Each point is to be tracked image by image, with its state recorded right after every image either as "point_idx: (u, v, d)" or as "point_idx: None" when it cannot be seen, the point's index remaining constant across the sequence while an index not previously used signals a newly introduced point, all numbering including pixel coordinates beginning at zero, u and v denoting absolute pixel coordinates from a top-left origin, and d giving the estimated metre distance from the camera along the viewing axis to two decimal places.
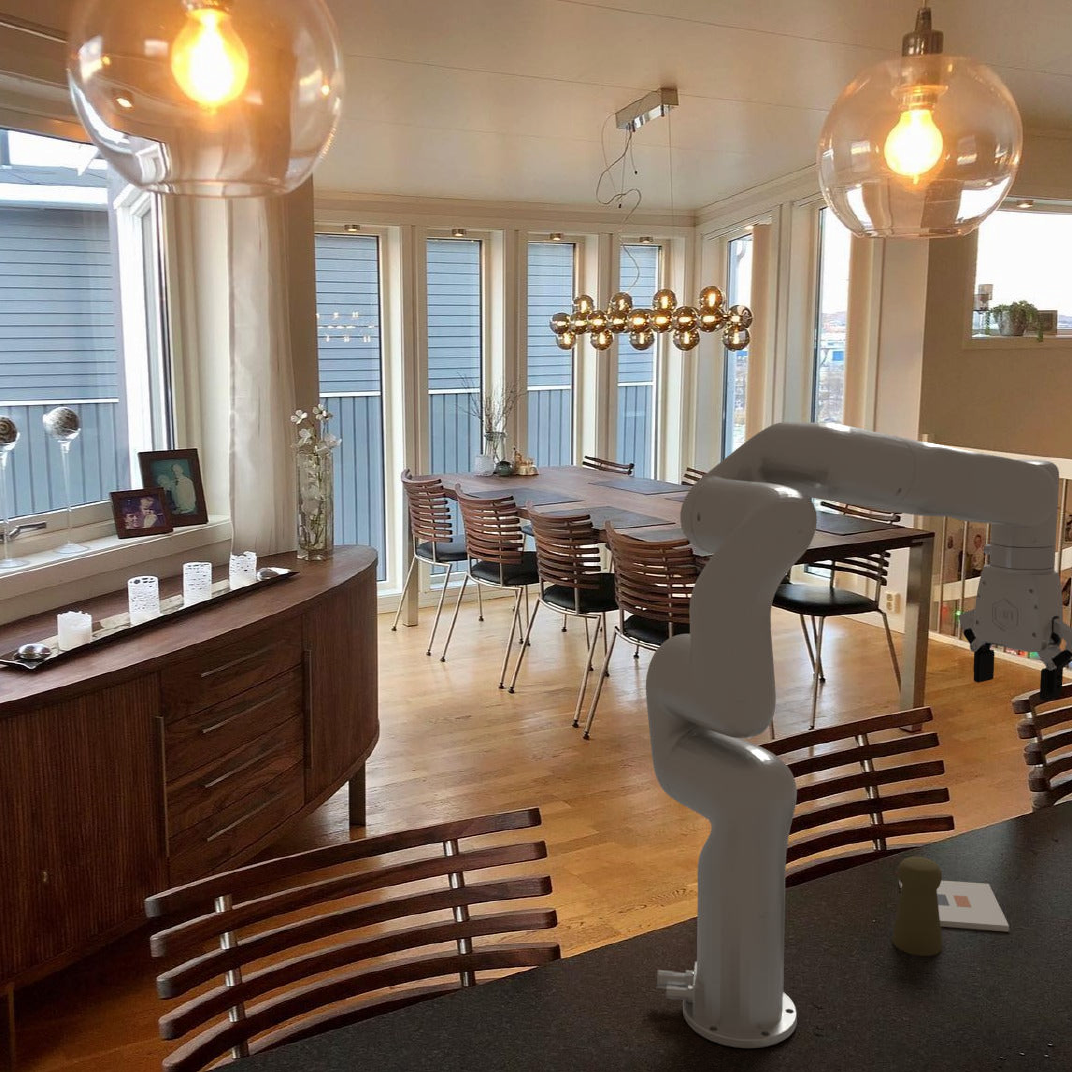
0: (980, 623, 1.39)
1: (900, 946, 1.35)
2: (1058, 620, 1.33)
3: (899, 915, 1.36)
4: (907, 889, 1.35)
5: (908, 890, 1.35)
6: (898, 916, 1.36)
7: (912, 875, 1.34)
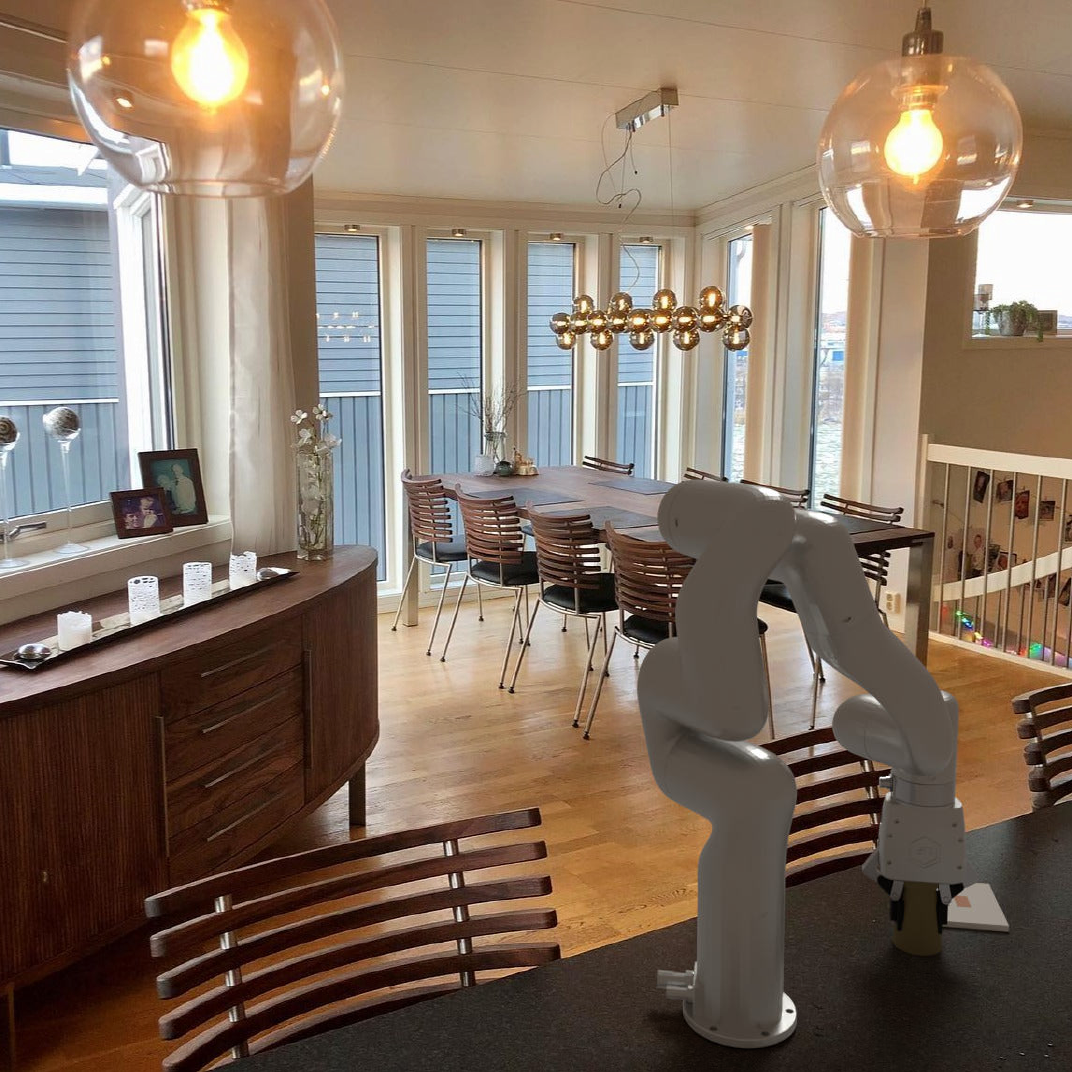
0: (893, 863, 1.33)
1: (900, 946, 1.35)
2: None
3: None
4: (907, 889, 1.35)
5: (908, 889, 1.35)
6: None
7: None
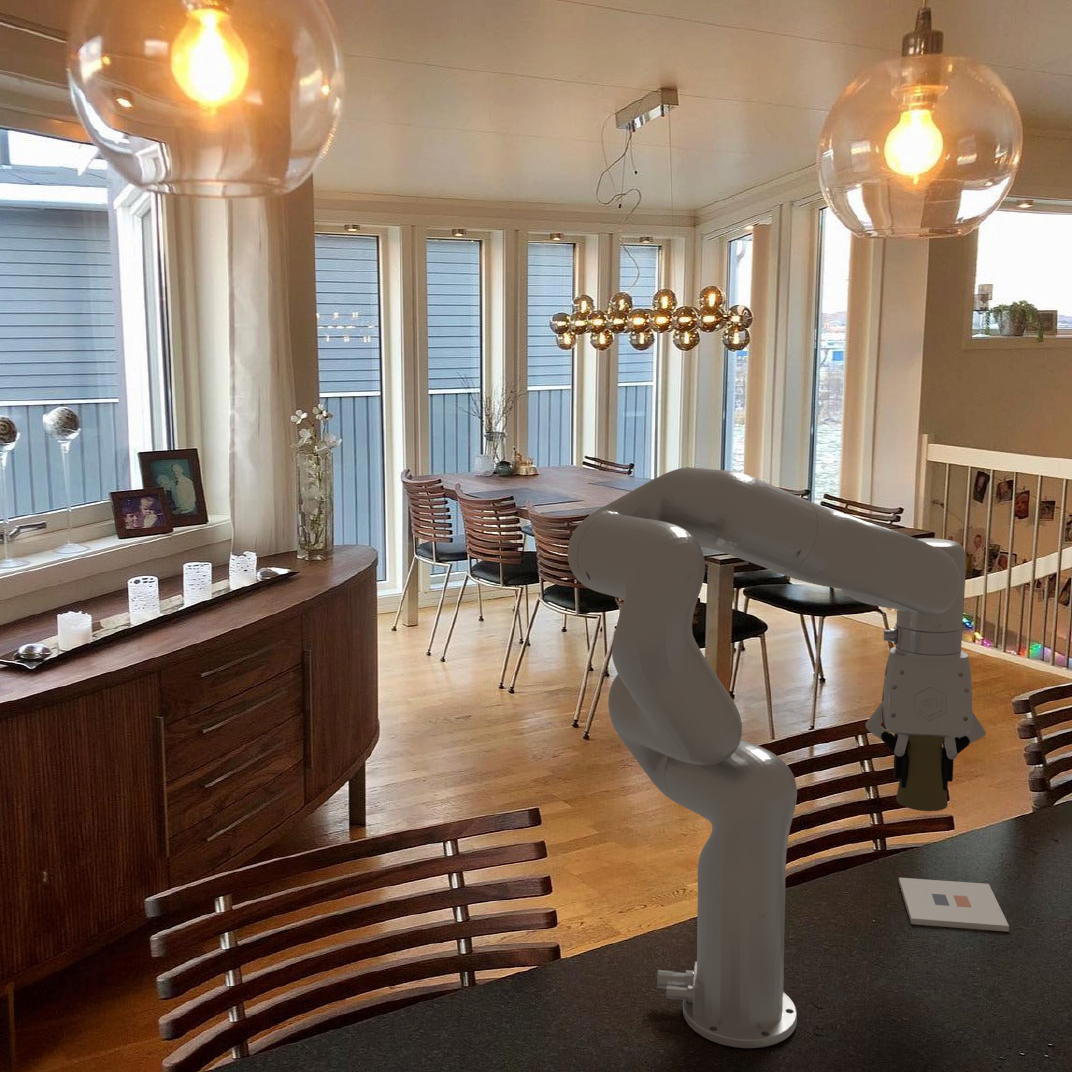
0: (897, 715, 1.31)
1: (904, 803, 1.33)
2: None
3: None
4: (912, 744, 1.32)
5: (913, 744, 1.32)
6: None
7: None
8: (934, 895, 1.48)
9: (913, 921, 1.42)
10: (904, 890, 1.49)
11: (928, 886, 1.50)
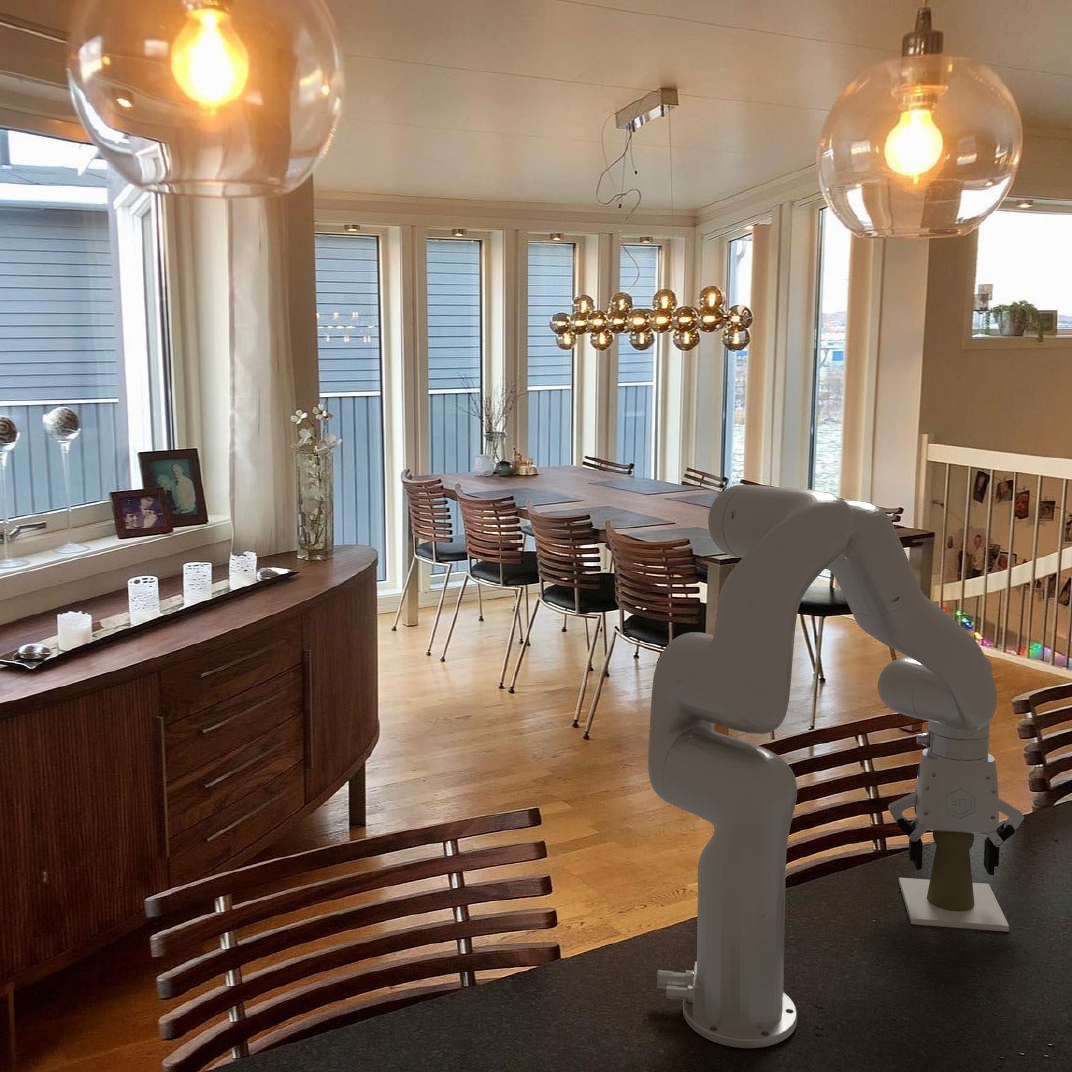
0: (930, 814, 1.42)
1: (935, 903, 1.45)
2: None
3: (934, 874, 1.45)
4: (942, 849, 1.44)
5: (943, 850, 1.44)
6: (933, 875, 1.46)
7: (946, 836, 1.43)
8: None
9: (913, 921, 1.42)
10: (904, 890, 1.49)
11: (928, 886, 1.50)
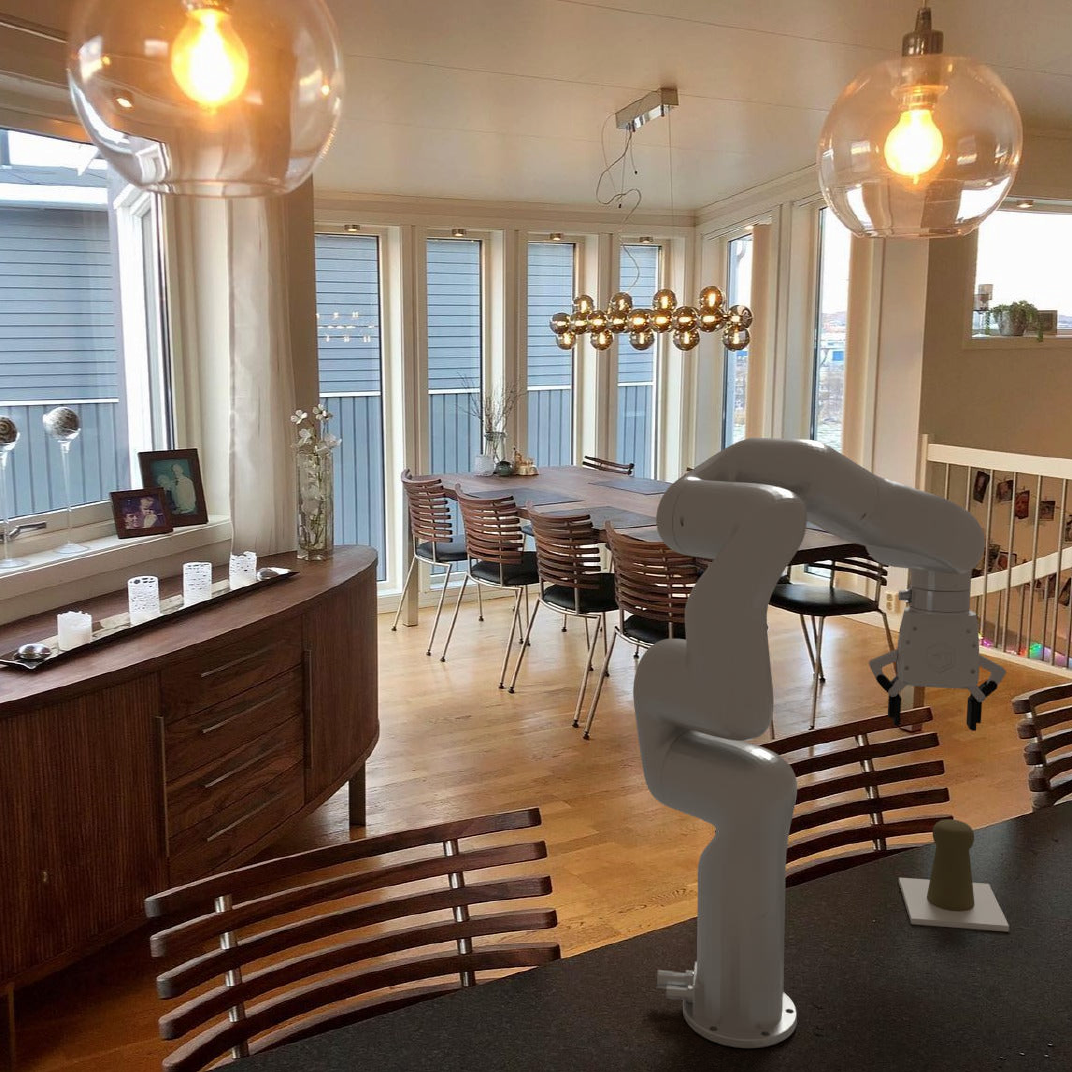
0: (910, 668, 1.43)
1: (935, 903, 1.45)
2: (979, 654, 1.44)
3: (934, 874, 1.45)
4: (942, 849, 1.44)
5: (943, 849, 1.44)
6: (933, 875, 1.46)
7: (946, 836, 1.43)
8: None
9: (913, 921, 1.42)
10: (904, 890, 1.49)
11: (928, 886, 1.50)
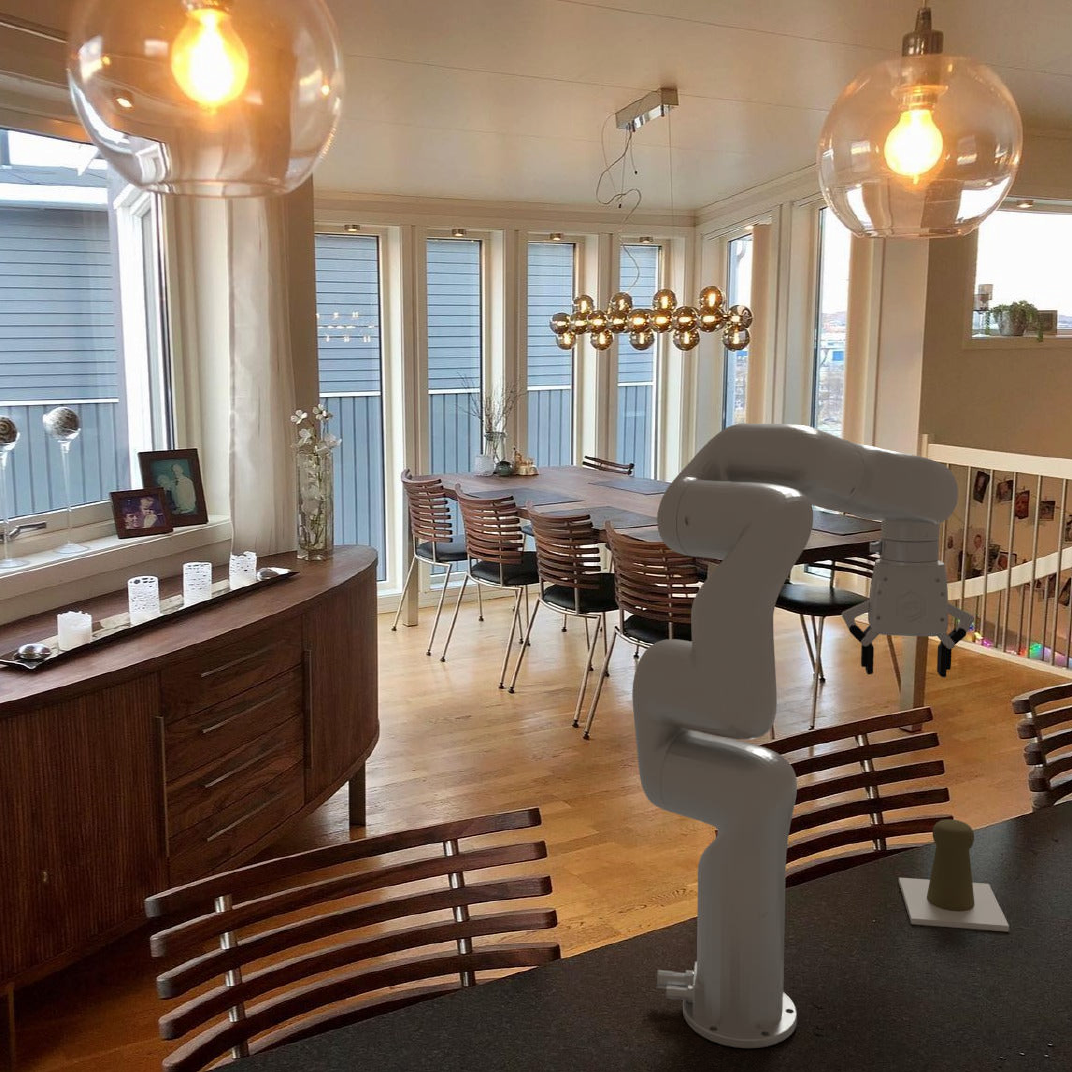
0: (882, 618, 1.47)
1: (935, 903, 1.45)
2: (948, 603, 1.48)
3: (934, 874, 1.45)
4: (942, 849, 1.44)
5: (943, 849, 1.44)
6: (933, 875, 1.46)
7: (946, 836, 1.43)
8: None
9: (913, 921, 1.42)
10: (904, 890, 1.49)
11: (928, 886, 1.50)
